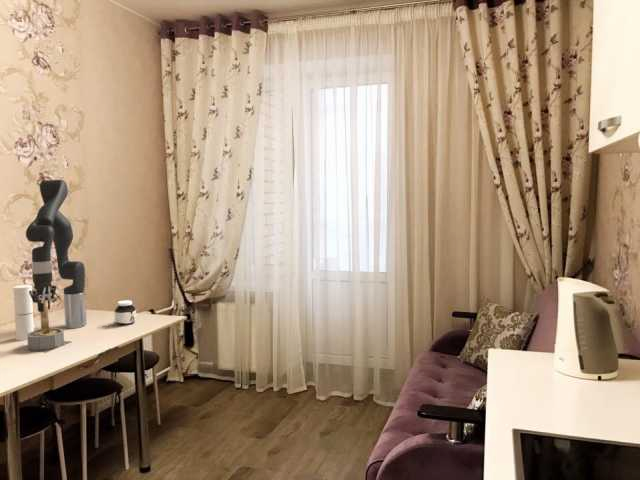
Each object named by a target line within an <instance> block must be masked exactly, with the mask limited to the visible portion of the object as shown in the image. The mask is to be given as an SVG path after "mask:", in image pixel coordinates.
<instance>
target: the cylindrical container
mask: <svg viewBox="0 0 640 480" xmlns="http://www.w3.org/2000/svg"><path fill="white" fill-rule="evenodd" d="M32 288H33V287H32V285H30V284H25V285H24V284H23V285H15V286H13V303H14V307H13V308H14V321H15V322H14V323H15V338H16V341H23V342H24V341H27V333H29V332H32V331H35V330H34V329H35V327H34V307H33V300H32V298H31V296H30V294H29V291H32V290H33V289H32Z"/></svg>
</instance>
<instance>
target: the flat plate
mask: <svg viewBox="0 0 640 480" xmlns="http://www.w3.org/2000/svg"><path fill="white" fill-rule="evenodd" d="M70 343H73V341H67V340H64V343H63V345H62V346H60V347H58V348H61V347H63V346H66V345H69V344H70ZM58 348H54V349H50V350H42V351H33V350H29V349H28V346H26V347H24V348H20V349H18V351H21V352H33V353H49V352H51V351H53V350H56V349H58Z"/></svg>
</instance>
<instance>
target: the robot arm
mask: <svg viewBox="0 0 640 480" xmlns="http://www.w3.org/2000/svg"><path fill="white" fill-rule="evenodd" d="M39 191H40V196H41V198H42V202H43V205H42V206H41V207H40V208H39V210H38V212H37V215H36V217H35V219H34V220H33V221H32V222H31V223H30V224H29V225H28V226H27V228H26V230H25V237H26V239H27V240H28V241H29V242H32V243H40V242H41V243H42V242H43V244H42V246H38V247H34V248H33V249H32V250H31V259H32V260H31V274H32V283H33V284H34V287H33V289H32V291H29V294H30V296H31V298H32V303H34V304H35V303H36V304H37V311H38V312H43V311H44V303H43V300H48V311H50V310H51V300H53V299H54V298H55V295H56V291H57V285H52V282H53V265H52V264H53V263H52V253H51V251H52V245H54V249H55V254H56V261H57V269H58V274H59V277H60V278H61V279H62V280H69V281H70V280H72V284H71V285H68V286H65V287H64V288H63V302H64V303H63V304H64V305H63V306H64V324H65V325H64V326H65V328H66V329H78V328H82V327H85V326H86V325H87V308H86V304H85V285H86V282H85V281H86V276H85V275H86V268H85V264H84V263H83V262H82V261H78V260H77V261H74V260H73V261H71V260H69V254H68V253H69V252H68V251H69V248H70V246H71V244H72V242H73V239H74V232H73V228H72V224H71V222H70V220H69V219H68V218H67V217H66V216H65V215H64V214H63V213H62V212H61V211H60V208H61V207H62V205H63V203H64V202H65V200H66V199H67V197H68V192H69V188H68V185H67V182H66V181H65V180H64V179H49V180H47V179H46V180H42V181H41V182H40V183H39Z"/></svg>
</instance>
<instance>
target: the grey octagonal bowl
mask: <svg viewBox="0 0 640 480" xmlns="http://www.w3.org/2000/svg"><path fill="white" fill-rule="evenodd" d="M64 334H65V333H64V330H63V328H57V327H56V328H55V327H49V332H48V333H41V329H35V330H34V331H32V332H29V333H27V340H26V341H27V347H28V349H29V350H33V351H42V350H50V349H54V348H56V349H58V347H59V348H61V347H63V346H62V345H63V343H64V341H65V338H64V337H65V335H64ZM60 346H61V347H60ZM54 350H55V349H54Z"/></svg>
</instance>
